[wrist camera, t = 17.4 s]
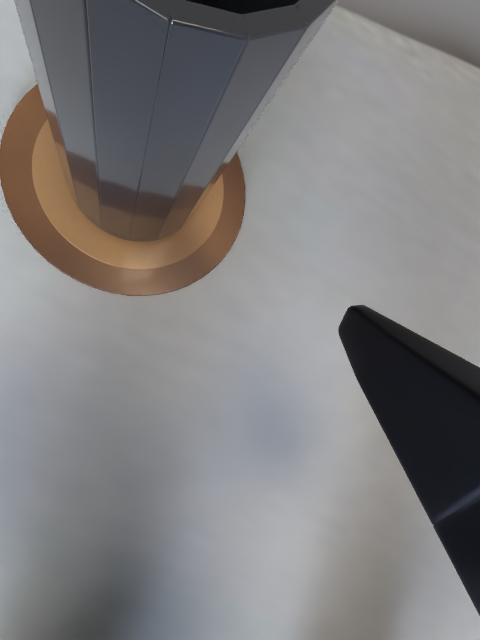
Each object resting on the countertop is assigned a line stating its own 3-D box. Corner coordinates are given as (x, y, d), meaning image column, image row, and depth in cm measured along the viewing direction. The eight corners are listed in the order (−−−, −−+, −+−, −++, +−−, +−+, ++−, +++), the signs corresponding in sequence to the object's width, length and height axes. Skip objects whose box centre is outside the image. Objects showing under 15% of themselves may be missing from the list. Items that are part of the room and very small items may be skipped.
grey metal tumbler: (143, 268, 16) (218, 114, 5) (33, 171, 15) (-198, -334, 4) (222, 184, 18) (412, -74, 7) (130, 90, 17) (171, -438, 5)
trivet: (146, 344, 16) (147, 344, 16) (-67, 165, 14) (-70, 162, 14) (282, 192, 19) (284, 190, 19) (125, 21, 17) (125, 17, 17)
